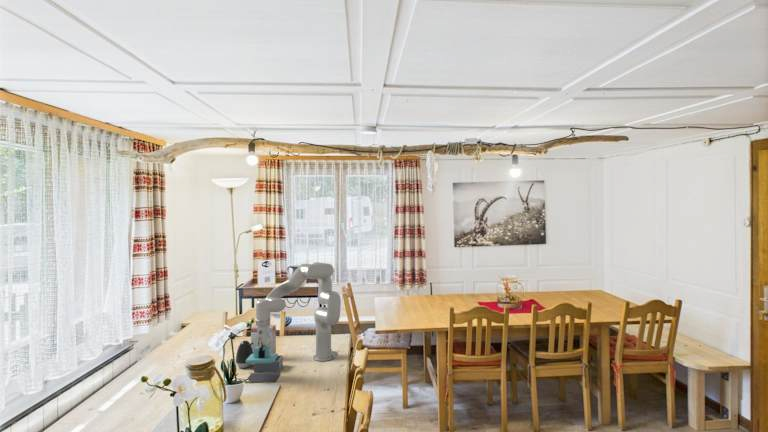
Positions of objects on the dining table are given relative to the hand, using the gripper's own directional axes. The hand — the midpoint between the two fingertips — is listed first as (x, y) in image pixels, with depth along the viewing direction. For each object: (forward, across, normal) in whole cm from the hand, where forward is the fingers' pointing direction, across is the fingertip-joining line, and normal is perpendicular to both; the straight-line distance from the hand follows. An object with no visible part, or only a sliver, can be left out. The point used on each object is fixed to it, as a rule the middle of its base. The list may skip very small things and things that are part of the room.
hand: (262, 356), depth 207 cm
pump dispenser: (+12, +18, +15) cm, 26 cm away
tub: (+12, +13, 0) cm, 18 cm away
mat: (+12, 0, 0) cm, 12 cm away
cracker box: (+12, +29, +7) cm, 32 cm away
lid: (+1, 0, 0) cm, 2 cm away
